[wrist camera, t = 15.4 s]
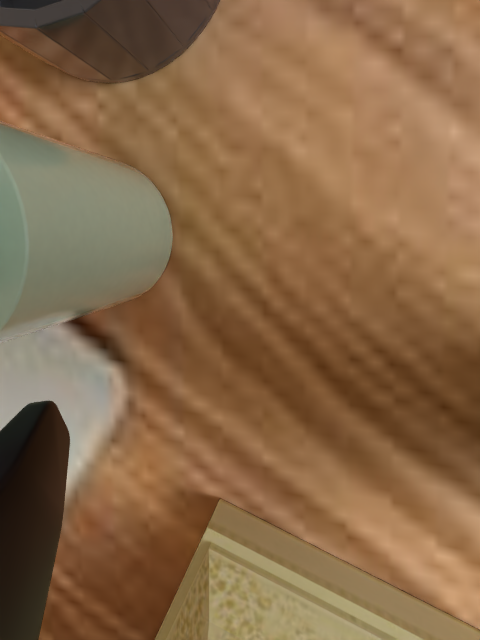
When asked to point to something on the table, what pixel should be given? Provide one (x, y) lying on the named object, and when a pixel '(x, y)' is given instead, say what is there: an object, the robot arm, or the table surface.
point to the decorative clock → (290, 592)
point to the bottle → (73, 232)
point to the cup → (105, 33)
